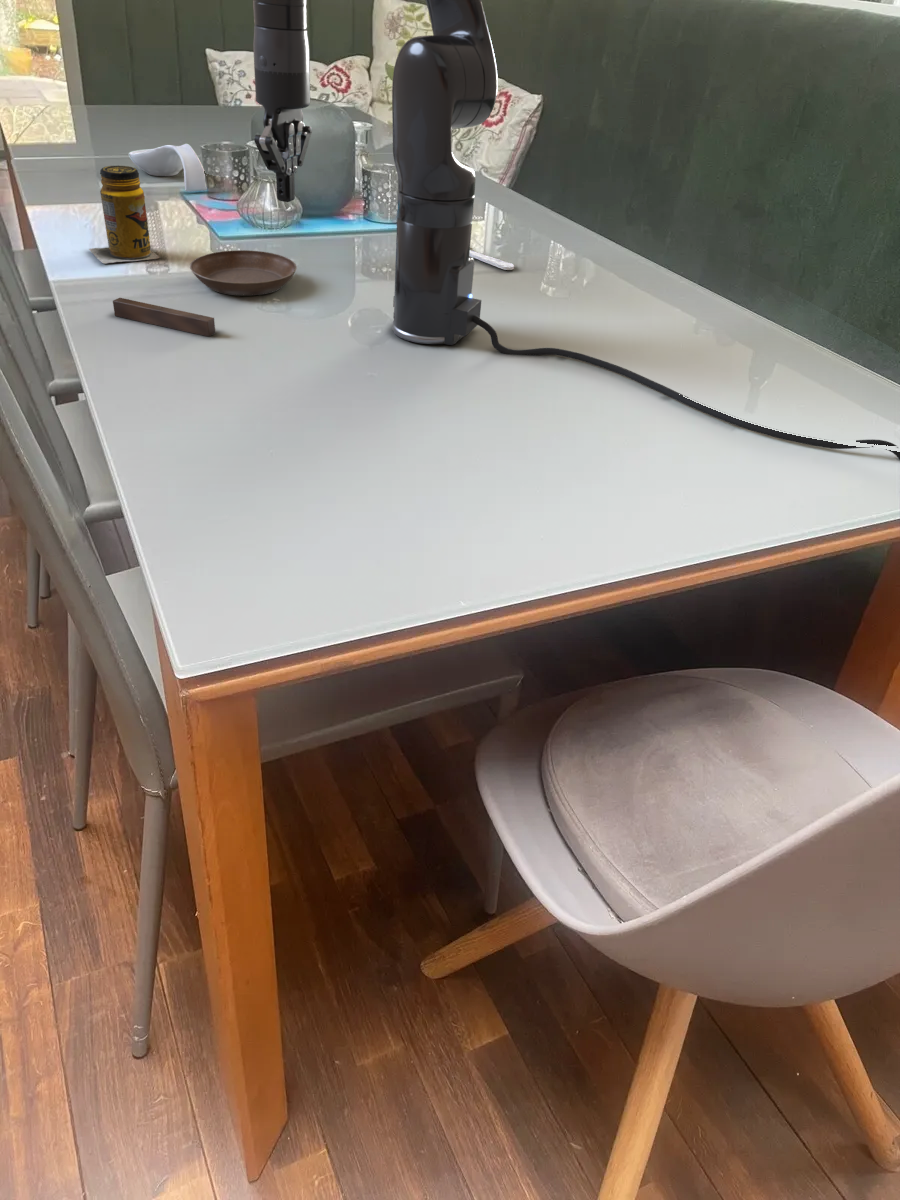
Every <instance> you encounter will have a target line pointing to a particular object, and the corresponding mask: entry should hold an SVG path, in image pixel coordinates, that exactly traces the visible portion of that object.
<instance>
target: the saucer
mask: <svg viewBox="0 0 900 1200" xmlns="http://www.w3.org/2000/svg"><path fill="white" fill-rule="evenodd" d="M189 269H190V270H191V272H192V273H193V274H194V276H195V277H196V278H197V280H199V281H200V283H202V284H203V285H204V286H206V287H207V288H209V289H210V290H212V291H214V292H215V293H216V292H217V293H220V294H223V295H228V296H235V297H236V296H238V297H239V296H240V297H253V296H262V295H268V294H272V293H274V292H277V291H279V290H280V289H282V288H283V287H284V286H285V285H286V284H288V282H289V281H290V280H291V279H292V278H293V277H294V275H295V273H296V271H297V269H298V268H297V264H296V262H295V261H293V260H292V259H291V258H288V257H286V256H284V255H280V254H277V253H273V252H269V251H259V250H248V249H247V250H246V249H245V250H243V249H239V250H237V249H235V250H223V251H222V250H221V251H217V252H212V253H207V254H204V255H200V256H199V257H197V258H195V259H193V260H192V261H191V262H190V264H189Z"/></svg>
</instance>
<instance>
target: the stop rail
mask: <svg viewBox="0 0 900 1200" xmlns="http://www.w3.org/2000/svg"><path fill="white" fill-rule="evenodd" d="M112 306H113V313H114V316H115V317H118V318H122V319H127V320H132V321H137V322H140V323H145V324H150V325H154V326H159V327H164V328H168V329H173V330H177V331H182V332H186V333H189V334H194V335H198V336H205V337H211V336H213V335H215V334H216V325H215V323H216V322H215V317H212V316H208V315H203V314H198V313H193V312H189V311H184V310H180V309H175V308H171V307H166V306H161V305H156V304H151V303H147V302H143V301H137V300H133V299H129V298H124V297H118V298H116V299H113V300H112Z"/></svg>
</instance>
